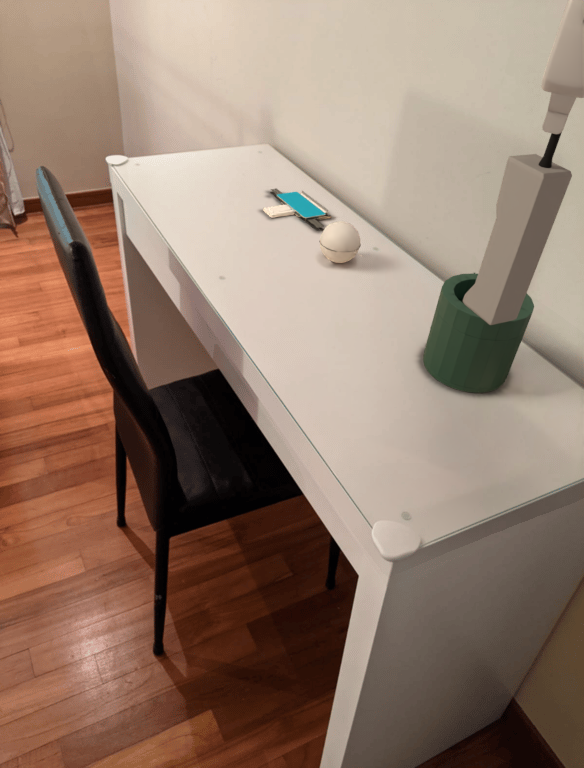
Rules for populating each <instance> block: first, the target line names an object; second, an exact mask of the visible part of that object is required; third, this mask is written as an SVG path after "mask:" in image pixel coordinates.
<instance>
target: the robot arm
mask: <svg viewBox="0 0 584 768" xmlns="http://www.w3.org/2000/svg"><path fill="white" fill-rule="evenodd" d="M558 25H559V26H558V27H557V31H556V34H555V37H554V40H553V43H552V47H551V50H550V53H549V55H548V59H547V61H546V64H545V68H544V71H543V75H542V78H541V85H540V87H541V90H542V91H544V92H547V93H550V97H549V103H548V106H547V110H546V113H545V117H544V120H543V123H542V127H541V129H542V131H544V132H545V133H547V134H551V133H553V134H560V133H561V132H562V133H563V131H564V129H565V126H566V123H567V120H568V118H569V115H570V112H571V111H572V108H573V106H574V104H575V101H576V100H577V98H578V99H584V0H567V1H566V4H565V7H564V10H563V13H562V16H561V19H560V23H559V24H558ZM562 133H561V134H562Z"/></svg>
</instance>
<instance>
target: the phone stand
mask: <svg viewBox="0 0 584 768" xmlns="http://www.w3.org/2000/svg"><path fill="white" fill-rule="evenodd" d="M270 194H271V195H272V196H273V197H275V198H276V199H277V200H278V201H279V202H281V204H279V205H273V206H272V205H271V206H266V207H263V208H262V209H263V212H264V213H265V214H266V215H267V216H269V217H270V218H271V219H272V218H280V217H286V216H293V215H295V216H297V217H298V218H300V219H302V220H303V222H305V223H306V224H308V225H309V226H310V227H311V228H312V229H314V230H315V231H316V232H317V231H324V229H325V225H324V224H323V223H322V222H321V221H322V220H328V219H332V215H329V209H327V208H326V207H325V206H323V205H322V204H321V203H320V202H318V201H317V200H315V199H314V198H313V197H311V196H310V195H309V194H308V193H307V192H305V191H304V190H301V192H298V191H290V192H284V193H283V192H282V191H280V190H279V189H278V188H271V189H270Z"/></svg>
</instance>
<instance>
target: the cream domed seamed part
mask: <svg viewBox="0 0 584 768" xmlns="http://www.w3.org/2000/svg"><path fill="white" fill-rule="evenodd" d="M323 229H324V230H322V232H321V234H320V236H319V237H320V238H319V246H320V251H321V253H322V254H323V256H324V257H325V258H326V259H327V260H328V261H330V262H333V263H335V264H336V263H337V264H344V263H347V262H349V261H351V260H352V259H354V258H355V257H356V255H359V256H360V257H363V258H364V255H363V254H360V253H359V250H360V248H361V245H362V244H361V237H360V233H359V231H358V230H357V228H356V227H355V226H354V225H353V224H351V223H349V222H347V221H343V220H342V221H341V220H339V221H333V222H331V223H330V224H328V225H326V227H324V228H323Z"/></svg>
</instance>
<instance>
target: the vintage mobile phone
mask: <svg viewBox="0 0 584 768" xmlns="http://www.w3.org/2000/svg"><path fill="white" fill-rule="evenodd" d="M562 133H563V131H562V132H561V133H560V134H553V133H550V136H549V139H548V142H547V144H546V147H545V151H544V153H543V156H541V155H539V154H537V153H531V154H520V155H519V154H518V155H517V154H516V155H509V156H508V157H507V160H506V164H505V169H504V172H503V176H502V180H501V184H500V189H499V193H498V197H497V201H496V207H495V209H496V210H495V216H496V217H495V221H494V224H493V227H492V230H491V232H490V236H489V239H488V243H487V244H486V245H487V246H486V249H485V251H484V255H483V257H482V260H481V264H480V266H479V270H478V273H477V274H478V276H477V279H476V282H475V284H474V285H473V286H472V287H471V288H470V290H469V291H468V292H467V293H466V294H465V296H464V299H463V303H464V304H465V305H466V306H467V307H468V308H469V309H471V310H472V311H473V312H474V313H476V314H477V315H478V316H479V317H480V318H482V319H483V320H484V321H485V322H487V323H488V324H489V325H494V324H499V323H503V322H508V321H512V320H515V319H517V316H518V314H519V311H520V309H521V306H522V303H523V301H524V298H525V296H526V293H527V294H528V291H529V288H530V285H531V283H532V281H533V278H534V275H535V273H536V270H537V267H538V265H539V262H540V260H541V257H542V254H543V252H544V249H545V247H546V244H547V242H548V239H549V237H550V234H551V231H552V228H553V226H554V224H555V222H556V218H557V216H558V213H559V211H560V208H561V206H562V203H563V201H564V198H565V195H566V192H567V190H568V187H569V185H570V182H571V180H572V177H573V173H572V171H571V170H569V169H567V168H566V167H563V166H561V165H559V164H557V163H556V162H553V158H554V155H555V153H556V149H557V147H558V144H559V141H560V139H561V136H562Z"/></svg>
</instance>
